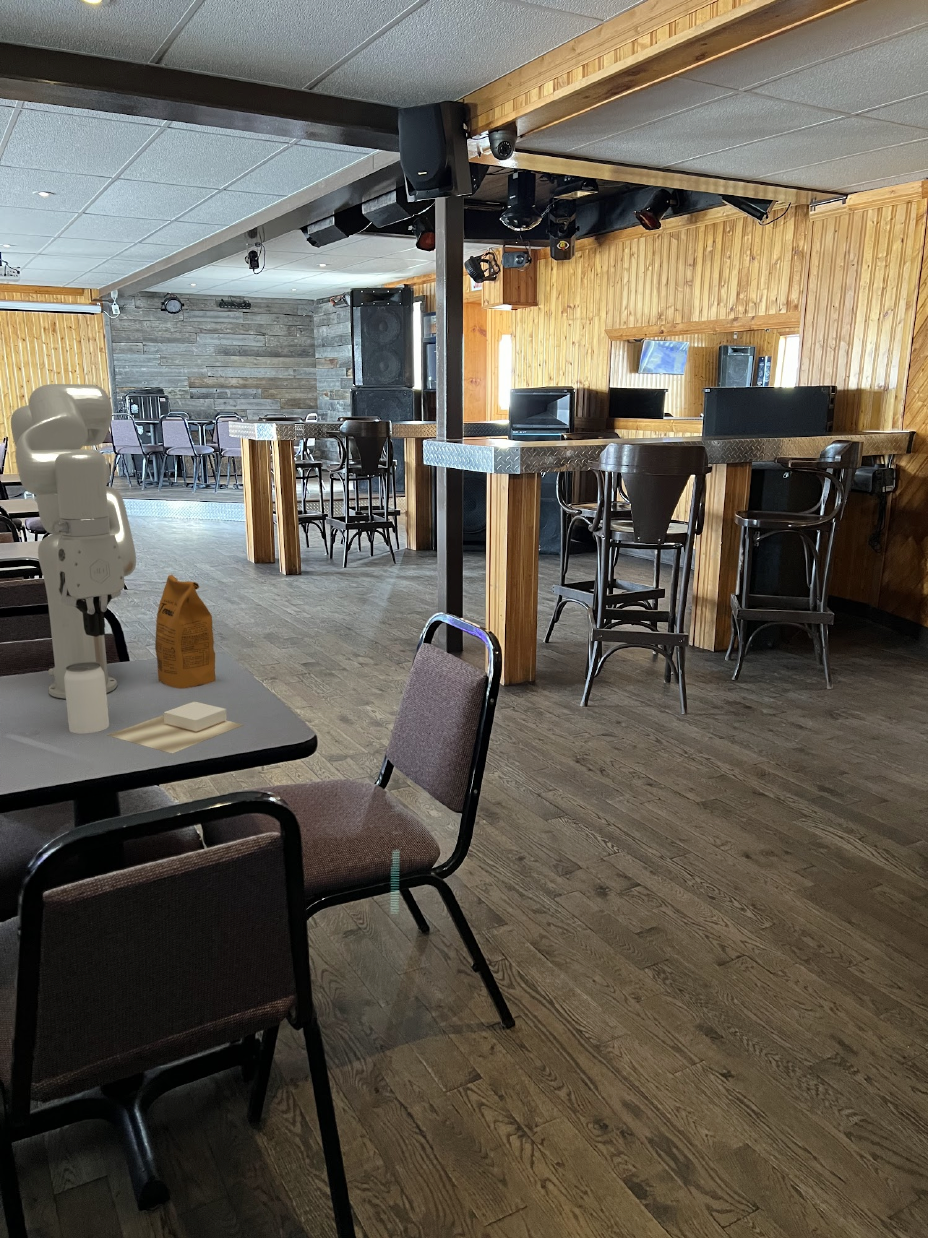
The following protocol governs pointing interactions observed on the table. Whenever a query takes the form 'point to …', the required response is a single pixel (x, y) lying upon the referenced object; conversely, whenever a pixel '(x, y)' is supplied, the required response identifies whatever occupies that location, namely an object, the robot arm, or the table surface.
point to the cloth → (170, 734)
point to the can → (86, 698)
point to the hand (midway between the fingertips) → (95, 634)
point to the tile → (195, 716)
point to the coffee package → (184, 637)
